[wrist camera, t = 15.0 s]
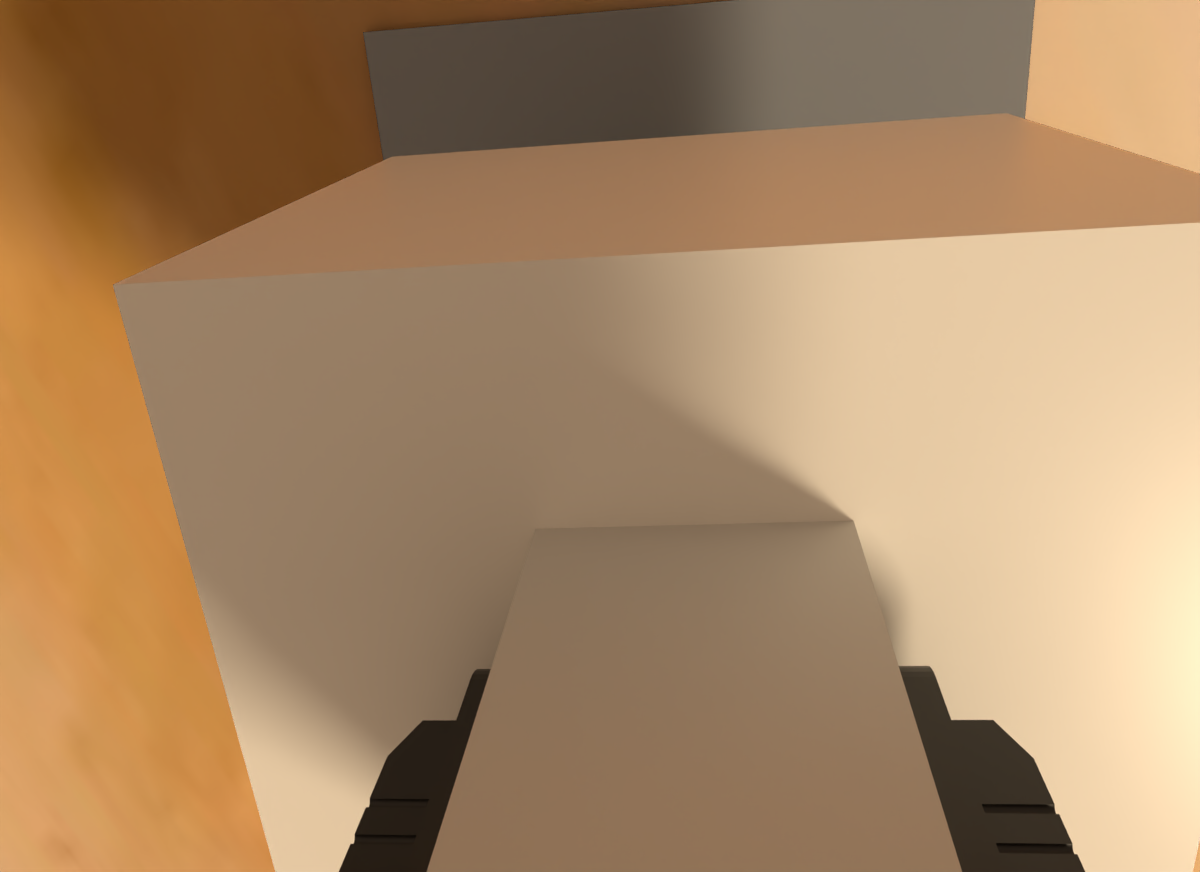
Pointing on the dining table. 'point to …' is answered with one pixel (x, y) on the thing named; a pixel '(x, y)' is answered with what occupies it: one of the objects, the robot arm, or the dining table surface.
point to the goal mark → (695, 71)
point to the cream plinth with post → (701, 490)
